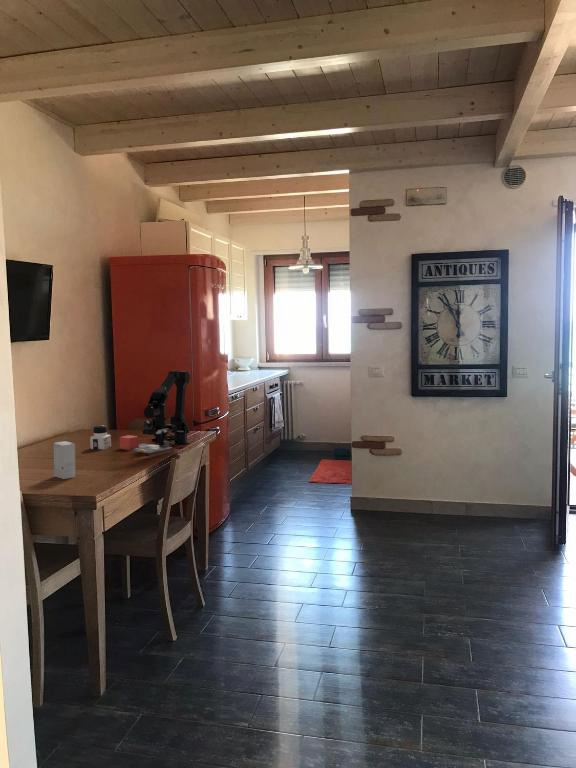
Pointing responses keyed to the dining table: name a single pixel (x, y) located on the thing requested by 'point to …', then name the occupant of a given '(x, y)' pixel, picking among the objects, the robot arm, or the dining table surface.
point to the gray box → (165, 444)
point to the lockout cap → (129, 442)
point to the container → (100, 438)
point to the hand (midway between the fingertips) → (160, 446)
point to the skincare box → (64, 460)
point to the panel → (151, 449)
